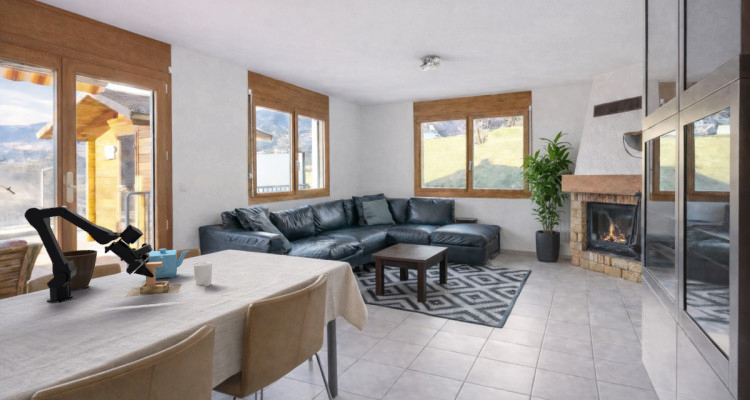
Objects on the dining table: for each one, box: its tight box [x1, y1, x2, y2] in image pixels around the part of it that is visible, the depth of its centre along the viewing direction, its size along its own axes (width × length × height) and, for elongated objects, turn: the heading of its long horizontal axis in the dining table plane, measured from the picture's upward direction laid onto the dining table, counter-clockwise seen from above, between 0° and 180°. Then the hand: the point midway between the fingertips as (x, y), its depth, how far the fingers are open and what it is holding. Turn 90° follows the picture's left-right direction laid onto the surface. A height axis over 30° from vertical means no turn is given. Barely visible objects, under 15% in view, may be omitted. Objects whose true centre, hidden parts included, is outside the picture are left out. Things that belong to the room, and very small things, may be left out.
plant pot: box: [62, 249, 98, 291], centre depth 183 cm, size 15×15×16 cm
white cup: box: [193, 261, 213, 288], centre depth 189 cm, size 8×8×10 cm
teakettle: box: [147, 248, 190, 280], centre depth 201 cm, size 19×19×15 cm
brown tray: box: [125, 280, 183, 298], centre depth 177 cm, size 20×14×4 cm
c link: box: [145, 262, 163, 287], centre depth 177 cm, size 6×4×12 cm, turn 109°
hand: (154, 275), depth 177 cm, fingers open, 4 cm apart
